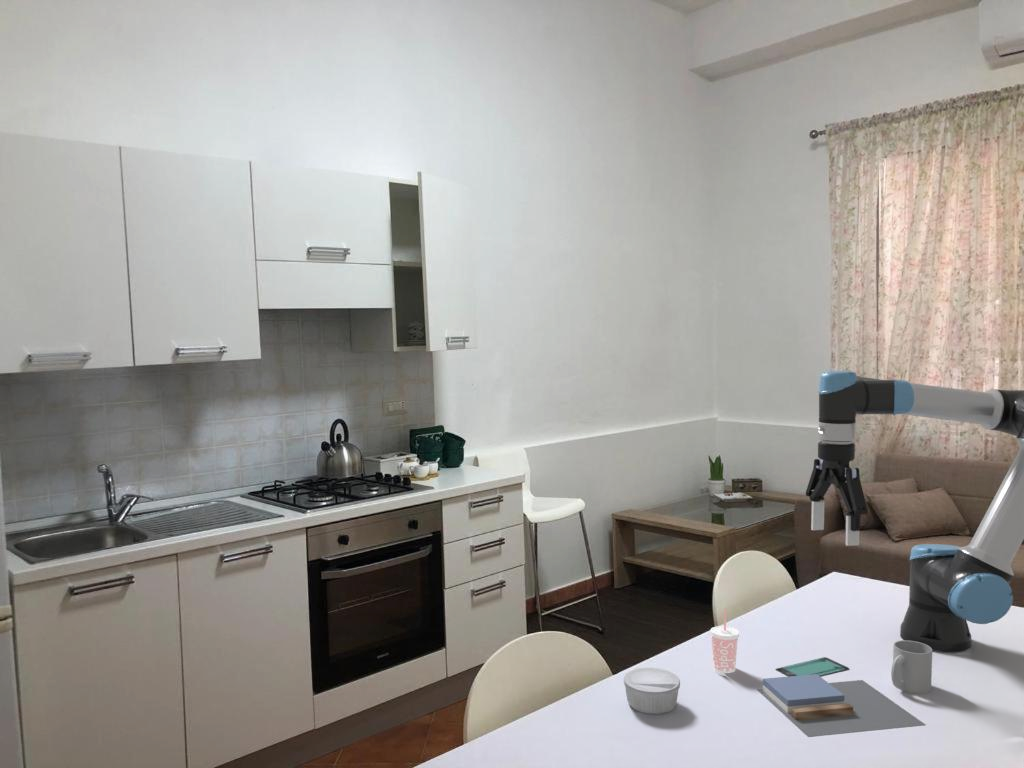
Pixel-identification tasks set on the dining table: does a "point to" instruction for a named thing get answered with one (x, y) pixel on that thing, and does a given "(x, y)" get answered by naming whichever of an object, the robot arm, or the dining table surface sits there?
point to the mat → (855, 712)
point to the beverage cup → (724, 648)
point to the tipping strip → (822, 711)
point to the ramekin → (651, 690)
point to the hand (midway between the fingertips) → (834, 537)
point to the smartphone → (813, 668)
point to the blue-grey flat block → (801, 692)
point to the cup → (912, 666)
